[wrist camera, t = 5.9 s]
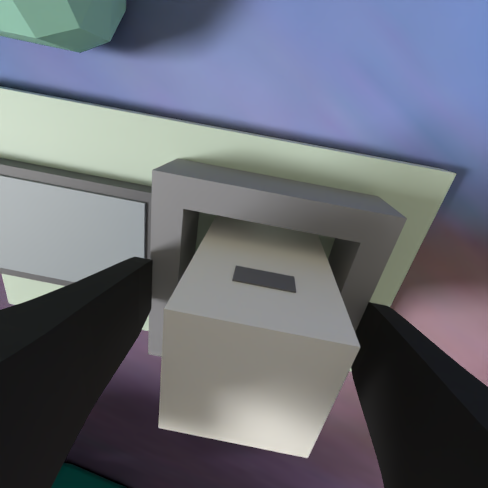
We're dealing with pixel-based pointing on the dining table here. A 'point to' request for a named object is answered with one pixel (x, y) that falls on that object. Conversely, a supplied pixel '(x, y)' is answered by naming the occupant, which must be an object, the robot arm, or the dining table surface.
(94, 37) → the container
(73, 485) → the green bottle
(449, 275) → the dining table surface
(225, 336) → the block
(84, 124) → the outlet plate
